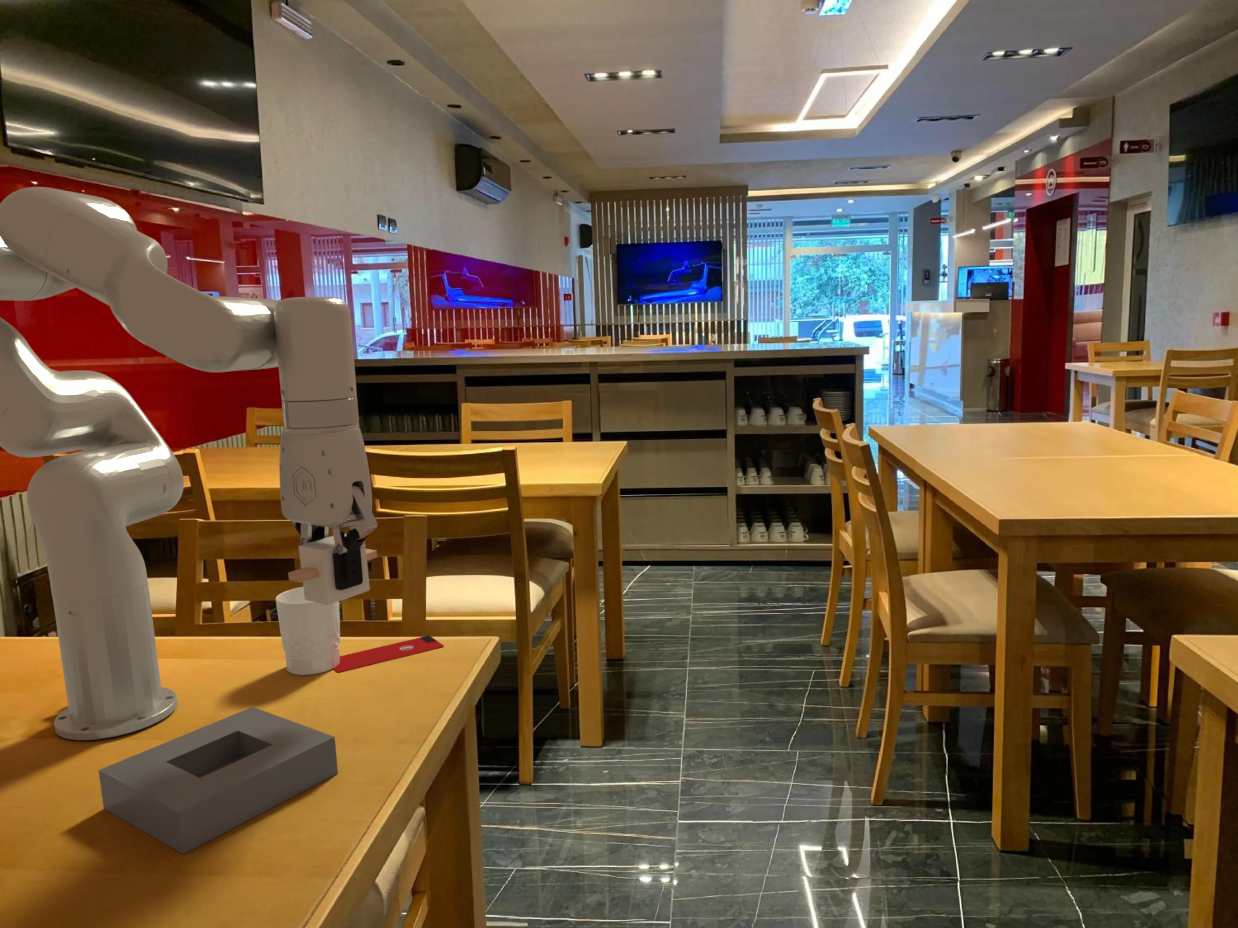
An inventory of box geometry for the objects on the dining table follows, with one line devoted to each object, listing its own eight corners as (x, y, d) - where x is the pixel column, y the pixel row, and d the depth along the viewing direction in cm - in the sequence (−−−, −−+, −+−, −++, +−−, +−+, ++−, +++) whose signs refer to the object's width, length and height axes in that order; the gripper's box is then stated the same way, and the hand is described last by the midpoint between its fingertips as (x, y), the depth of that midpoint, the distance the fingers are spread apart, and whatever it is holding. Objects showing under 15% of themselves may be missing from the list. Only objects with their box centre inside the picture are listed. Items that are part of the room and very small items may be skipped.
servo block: (286, 605, 92) (279, 551, 91) (362, 579, 100) (357, 528, 99) (310, 611, 90) (303, 555, 89) (385, 584, 98) (380, 532, 97)
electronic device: (337, 675, 114) (445, 649, 122) (337, 671, 114) (444, 645, 122) (325, 662, 119) (429, 638, 127) (324, 658, 119) (429, 634, 127)
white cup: (300, 654, 121) (294, 584, 119) (354, 655, 120) (348, 585, 118) (271, 676, 113) (263, 603, 112) (328, 678, 112) (321, 603, 111)
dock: (103, 808, 83) (98, 769, 82) (256, 740, 96) (252, 706, 95) (183, 854, 75) (178, 812, 74) (337, 772, 88) (334, 736, 87)
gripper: (242, 417, 93) (258, 581, 96) (343, 422, 84) (357, 605, 87) (302, 410, 100) (316, 565, 102) (402, 415, 90) (414, 585, 93)
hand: (335, 581), depth 95 cm, fingers closed on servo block, 4 cm apart
